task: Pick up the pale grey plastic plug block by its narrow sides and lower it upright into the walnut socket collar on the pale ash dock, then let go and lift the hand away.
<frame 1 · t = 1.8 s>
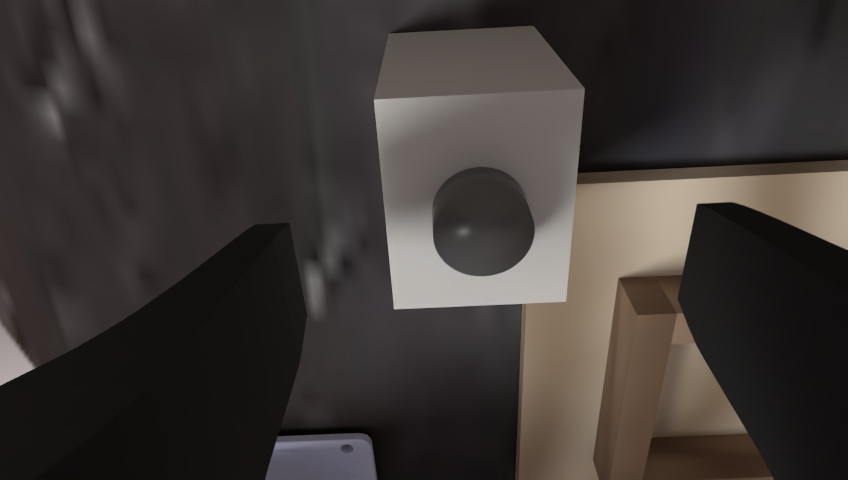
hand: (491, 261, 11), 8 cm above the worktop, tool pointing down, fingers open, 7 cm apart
socket dock: (704, 359, 23), on the worktop
plug: (462, 116, 18), on the worktop
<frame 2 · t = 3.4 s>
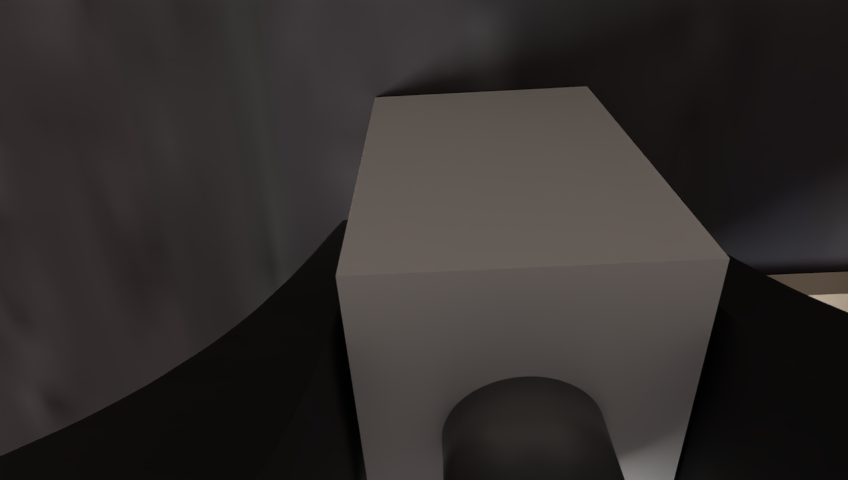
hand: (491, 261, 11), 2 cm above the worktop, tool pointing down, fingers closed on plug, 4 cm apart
plug: (480, 208, 12), on the worktop, touching gripper
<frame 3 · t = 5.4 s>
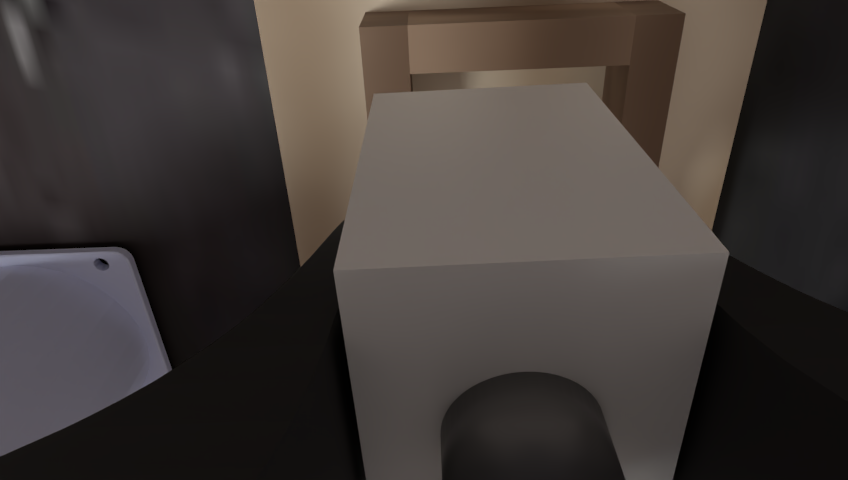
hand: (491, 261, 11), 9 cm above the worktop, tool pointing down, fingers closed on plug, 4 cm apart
socket dock: (502, 148, 19), on the worktop
plug: (480, 205, 12), point 7 cm above the worktop, touching gripper
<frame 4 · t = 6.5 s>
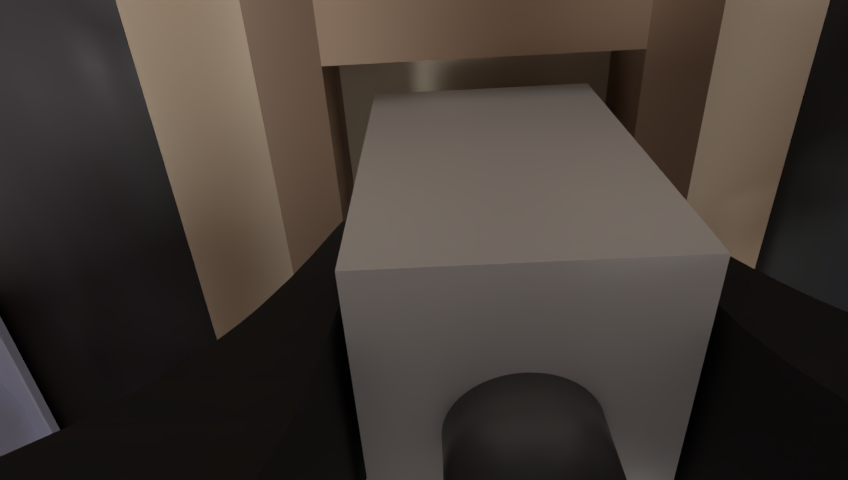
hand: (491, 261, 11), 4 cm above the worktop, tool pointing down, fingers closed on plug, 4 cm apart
socket dock: (472, 167, 14), on the worktop
plug: (480, 206, 12), point 2 cm above the worktop, touching gripper
when the fingers open (4 cm above the worktop, at t = 7.3 s): plug drops 1 cm, resting on socket dock.
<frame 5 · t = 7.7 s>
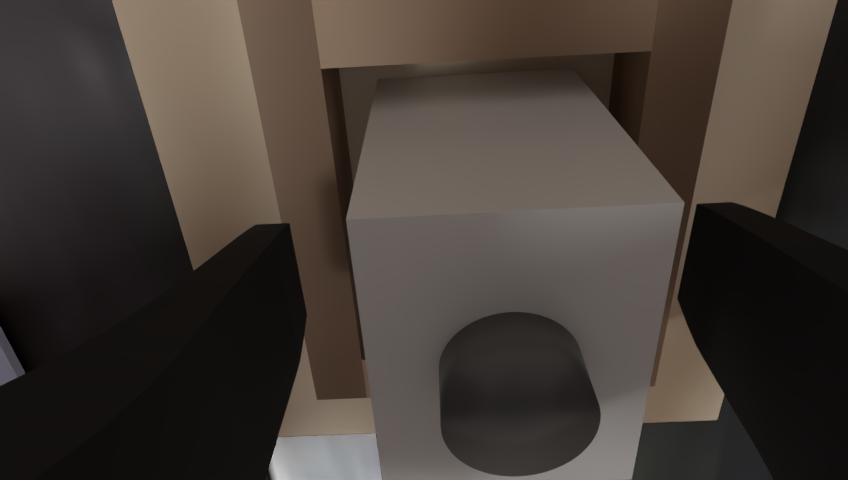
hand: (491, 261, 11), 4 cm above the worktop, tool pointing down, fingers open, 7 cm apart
socket dock: (474, 170, 14), on the worktop
plug: (476, 183, 13), point 1 cm above the worktop, touching socket dock
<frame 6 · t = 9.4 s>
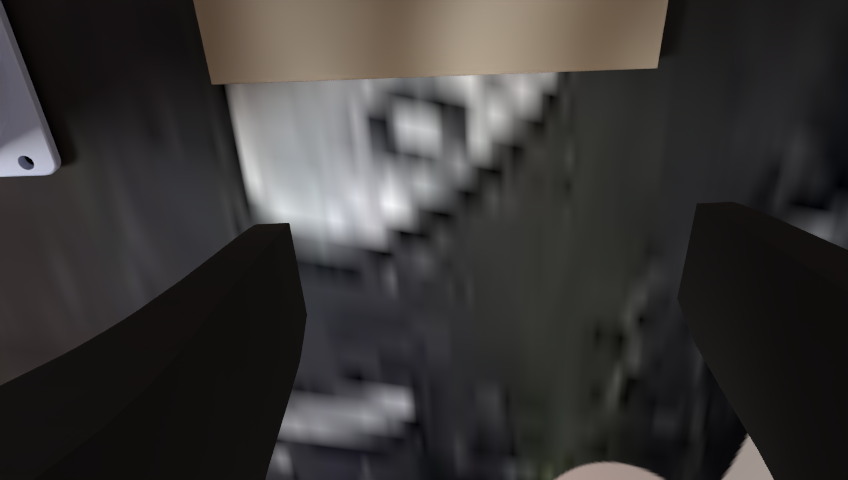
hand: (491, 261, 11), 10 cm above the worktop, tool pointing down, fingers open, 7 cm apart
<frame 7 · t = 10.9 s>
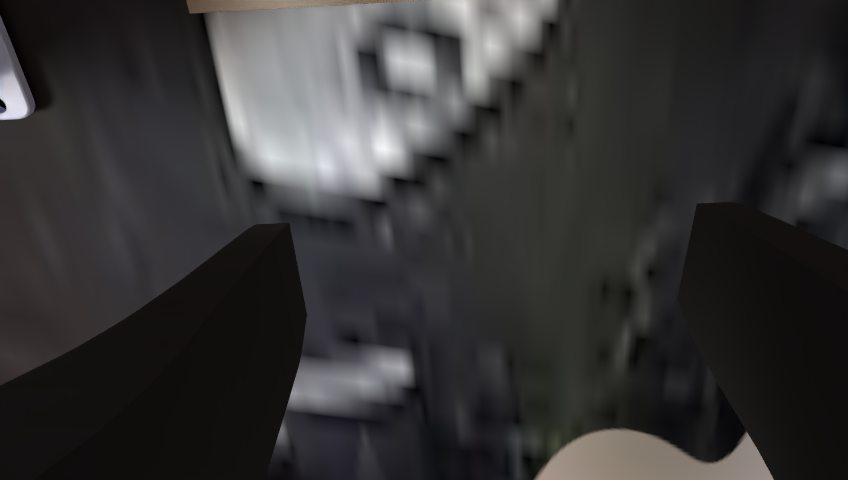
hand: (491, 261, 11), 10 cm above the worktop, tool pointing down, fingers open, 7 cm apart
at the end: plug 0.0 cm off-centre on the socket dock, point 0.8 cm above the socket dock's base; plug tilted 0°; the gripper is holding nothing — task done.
